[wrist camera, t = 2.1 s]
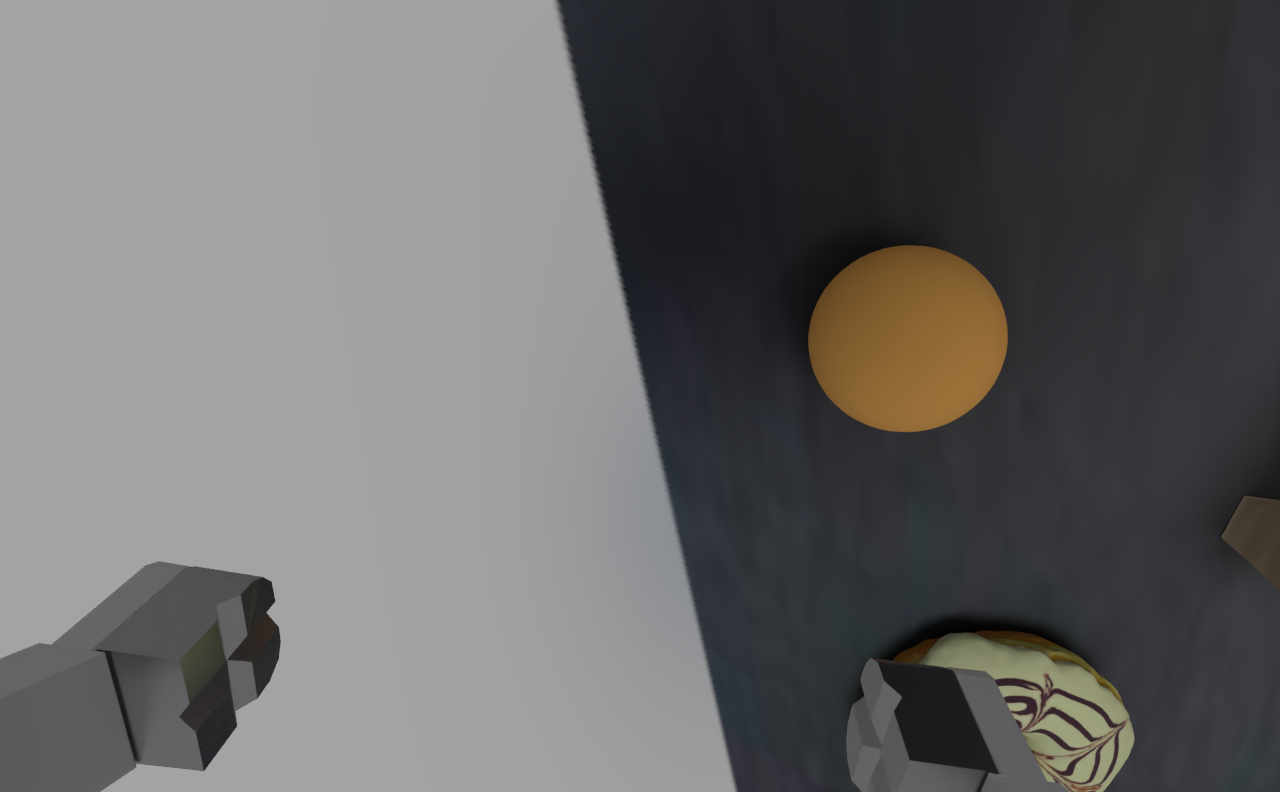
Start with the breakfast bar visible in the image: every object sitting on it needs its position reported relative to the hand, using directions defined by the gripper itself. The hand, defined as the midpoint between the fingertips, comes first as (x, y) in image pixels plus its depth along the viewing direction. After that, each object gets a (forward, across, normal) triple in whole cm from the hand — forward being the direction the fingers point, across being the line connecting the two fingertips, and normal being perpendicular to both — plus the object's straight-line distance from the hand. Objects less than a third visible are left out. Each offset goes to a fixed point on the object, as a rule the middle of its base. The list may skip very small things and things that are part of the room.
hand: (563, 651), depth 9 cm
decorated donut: (+19, -17, +17) cm, 31 cm away
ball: (+15, -8, -1) cm, 17 cm away
